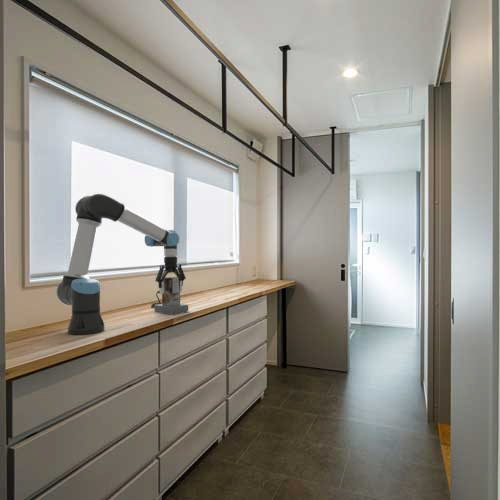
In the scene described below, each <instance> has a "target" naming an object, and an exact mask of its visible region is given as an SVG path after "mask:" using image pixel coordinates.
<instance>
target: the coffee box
mask: <svg viewBox="0 0 500 500" xmlns="http://www.w3.org/2000/svg"><path fill="white" fill-rule="evenodd" d="M162 282H163V287H164V294H161V297H162V298H161V300H162V301H161V302H162V305H168V306H176V305H180V304H181V292H180V277H177V276H174V277H172V276H166V277H165V278H164V280H163V281H162Z"/></svg>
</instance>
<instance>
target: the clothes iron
mask: <svg viewBox="0 0 500 500" xmlns="http://www.w3.org/2000/svg"><path fill="white" fill-rule="evenodd" d="M158 294H160V289H159V290H158V291H156V294H155V296H156V298H157V300H158V302H153V303H152V304H151V306H150V308H154V309H155V305H158V304H162V301H161V300H160V298H159V296H158Z"/></svg>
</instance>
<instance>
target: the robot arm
mask: <svg viewBox="0 0 500 500" xmlns="http://www.w3.org/2000/svg"><path fill="white" fill-rule="evenodd" d="M74 207H75V213H76V219H75V220H76V222H77V223H78V225H77V229H76V230H77V231H76V234H75V239H74V243H73V247H72V253H71V257H70V262H69V266H68V270H67V272H66V273H65V274H63V276H62V281H61V282H60V283H59V284H58V285H57V287H56V293H55V294H56V297H57V299H58V300H59V302H61V303H63V304H65V305H67V306H71V317H70V320H69V323H68V327H67V333H68V334H69V335H74V336H75V335H76V336H77V335H81V336H82V335H91V334H96V333H101V332H103V331H104V330H105V323H104V320H103V317H102V314H101V285H100V281H99V280H97V279H94V278H90V277H89V275H88V272H89V269H90V263H91V259H92V253H93V249H94V246H95V245H94V244H95V241H96V235H97V231H98V228H99V227H101V226H102V223H103V219H106V220H110V221H113V222H115V223H116V222H119V223H121V224H123V225H125V226H127V227H129V228H131V229H133V230H135V231H137V232H139V233H141V234H143V235H144V244H145V246H147V247H163V256H164V258H163V262H164V265H163V264H161V265H160V264H159V270H158V273H157V274H156V277H155V280H154V281H155V282H156V283H158V289H159V290H160V293H159V294H160V295H162V294H164V287H163V282H162V281H163V280H164V278H166V277H167V275H168V274H169V273H173V274H175V277H180V293H181V292H183V285H184V281H185V280H186V279H187V278H186V276H185V275H186V274H185V273H184V271H183V268H182V264H181V263H178V257H177V256H178V244H179V243H180V236H179V234H178V233H177V230H175V229H170V230H169V229H165V228H163V227H161V226H160V225H158V224H156V223H154V222H152V221H151V220H149V219H147V218H145V217H143V216H142V215H141V214H138V213H136V212H135V211H133V210H131V209H130V208H127V207H126V205H125V204H124V203H123V202H121V201H119V200H118V199H115V198H114V197H111V196H109V195H107V194H103V193H94V194H92V195H86V196H83V197H82V198H80V199H79V200H78V201H77V202H76V204H75V206H74Z"/></svg>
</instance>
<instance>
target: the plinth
mask: <svg viewBox="0 0 500 500" xmlns="http://www.w3.org/2000/svg"><path fill="white" fill-rule="evenodd" d="M186 311H188V312H189V304H185V303H180V305H176V306H168V305H162V304H158V305H155V308H154V313H161V314H164V315H165V314H167V315H171V314H172V315H177V314H176V313H178V314H182V313H181V312H184V313H187V312H186Z"/></svg>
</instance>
